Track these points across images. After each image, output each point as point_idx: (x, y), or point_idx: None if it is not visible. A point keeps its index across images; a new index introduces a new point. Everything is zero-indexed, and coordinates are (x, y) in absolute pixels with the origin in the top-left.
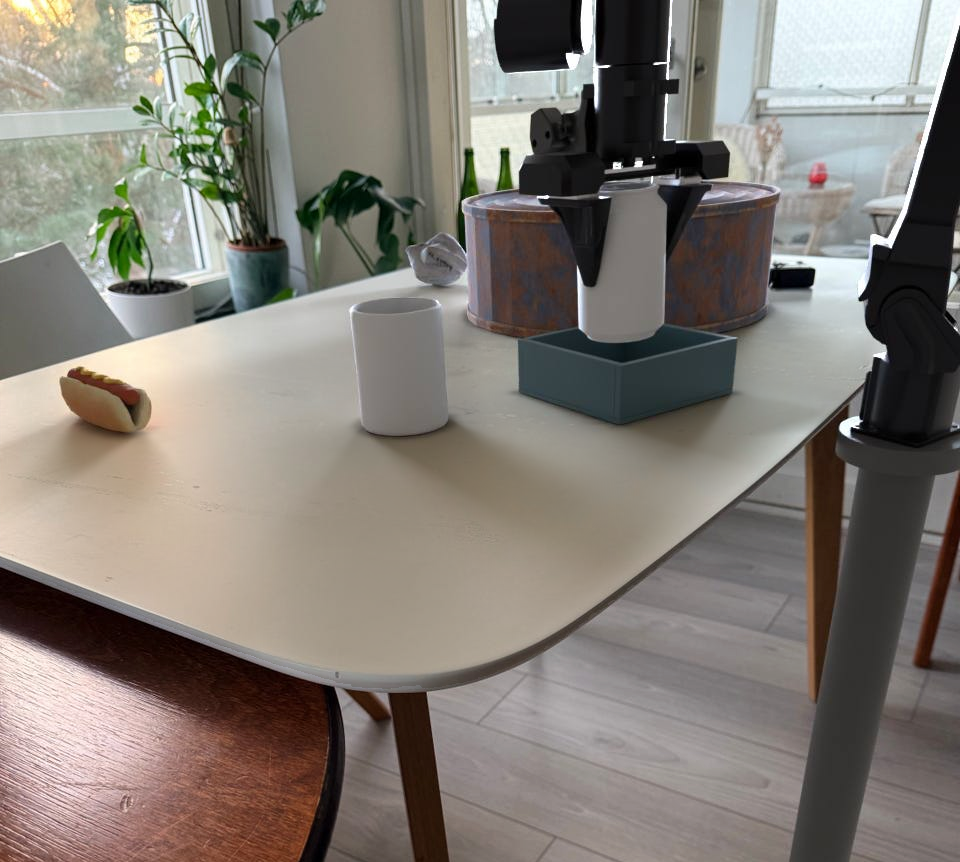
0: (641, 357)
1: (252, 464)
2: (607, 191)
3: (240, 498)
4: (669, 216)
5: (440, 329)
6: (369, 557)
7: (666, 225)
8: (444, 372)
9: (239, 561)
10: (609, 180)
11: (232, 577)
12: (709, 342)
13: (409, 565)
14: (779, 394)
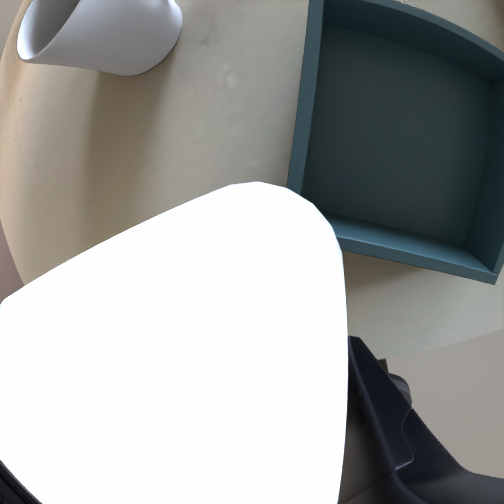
0: (496, 107)
1: (42, 75)
2: (92, 493)
3: (23, 132)
4: (341, 491)
5: (86, 38)
6: (40, 249)
7: (344, 465)
8: (130, 44)
9: (13, 208)
10: (27, 489)
11: (12, 220)
12: (466, 268)
13: (49, 270)
14: (472, 294)
